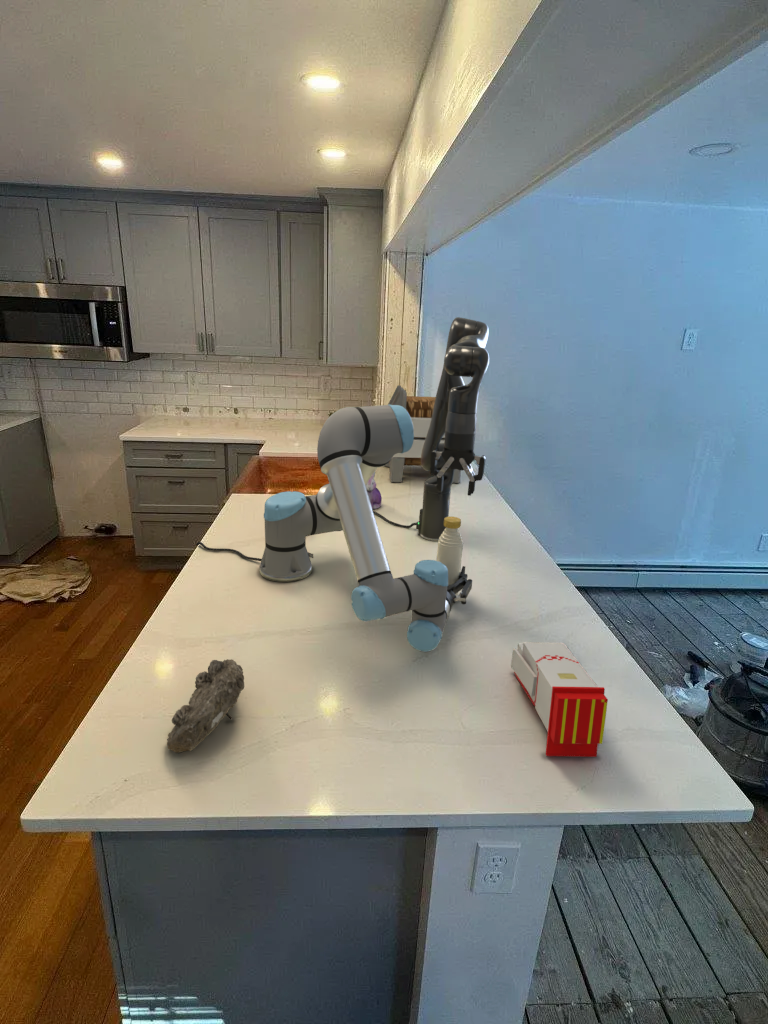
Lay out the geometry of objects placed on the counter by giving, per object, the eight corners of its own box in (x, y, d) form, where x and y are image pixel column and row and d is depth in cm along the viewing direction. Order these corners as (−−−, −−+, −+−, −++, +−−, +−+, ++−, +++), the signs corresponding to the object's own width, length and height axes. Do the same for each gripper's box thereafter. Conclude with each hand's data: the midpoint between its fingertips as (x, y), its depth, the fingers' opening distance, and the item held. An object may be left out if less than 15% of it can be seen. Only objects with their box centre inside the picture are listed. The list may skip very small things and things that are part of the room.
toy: (559, 625, 127) (617, 695, 97) (554, 680, 130) (608, 764, 100) (506, 624, 126) (547, 694, 97) (501, 679, 129) (540, 763, 100)
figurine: (365, 511, 219) (366, 474, 214) (354, 503, 228) (355, 467, 223) (387, 509, 223) (388, 472, 218) (375, 501, 232) (377, 465, 227)
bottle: (455, 592, 160) (463, 516, 152) (459, 604, 154) (467, 525, 146) (432, 591, 160) (438, 516, 152) (434, 603, 154) (441, 525, 146)
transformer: (382, 463, 289) (386, 382, 275) (445, 464, 293) (451, 384, 279) (390, 482, 257) (394, 392, 243) (460, 483, 261) (468, 394, 247)
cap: (459, 522, 152) (459, 516, 151) (461, 529, 148) (462, 522, 147) (442, 522, 152) (443, 516, 151) (444, 528, 147) (445, 522, 147)
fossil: (192, 660, 117) (244, 628, 112) (224, 691, 120) (276, 661, 115) (142, 746, 98) (202, 712, 93) (182, 779, 101) (242, 748, 96)
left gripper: (395, 613, 142) (415, 575, 163) (474, 627, 137) (484, 586, 158) (397, 586, 139) (417, 551, 160) (477, 600, 135) (487, 561, 156)
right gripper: (491, 429, 142) (484, 492, 148) (435, 424, 146) (431, 485, 152) (487, 435, 136) (480, 500, 141) (429, 429, 139) (424, 493, 145)
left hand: (450, 568), depth 159 cm, fingers closed on bottle, 7 cm apart
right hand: (454, 492), depth 147 cm, fingers open, 7 cm apart
